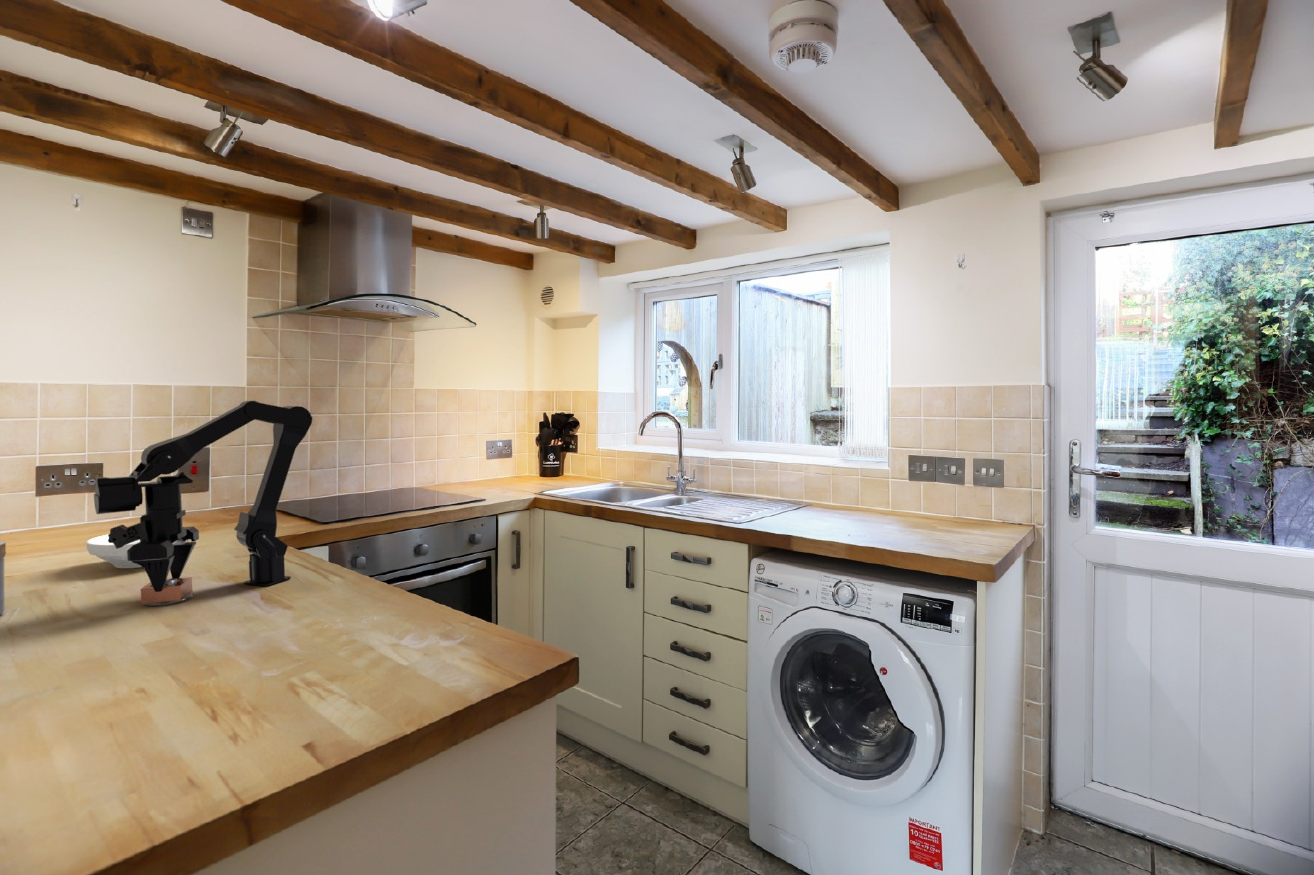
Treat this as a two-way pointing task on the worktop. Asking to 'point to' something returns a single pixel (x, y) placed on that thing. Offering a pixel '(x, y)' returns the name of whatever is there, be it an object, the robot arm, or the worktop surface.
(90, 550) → the bowl
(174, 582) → the disc with centre peg
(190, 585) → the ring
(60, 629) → the worktop surface
